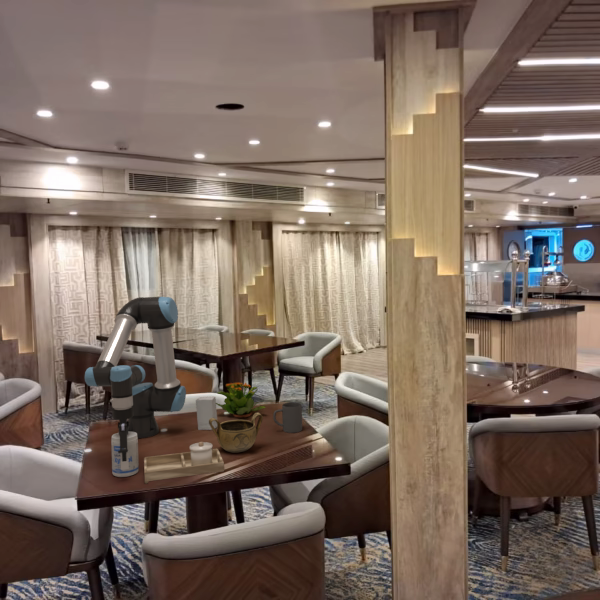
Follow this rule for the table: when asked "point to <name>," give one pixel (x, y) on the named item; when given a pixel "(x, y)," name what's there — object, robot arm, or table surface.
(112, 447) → the supplement tub
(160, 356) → the robot arm
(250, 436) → the ceramic bowl
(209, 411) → the skincare box
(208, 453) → the sugar pot
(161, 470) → the caddy
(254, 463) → the table surface
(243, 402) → the potted flower
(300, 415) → the mug
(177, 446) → the table surface
